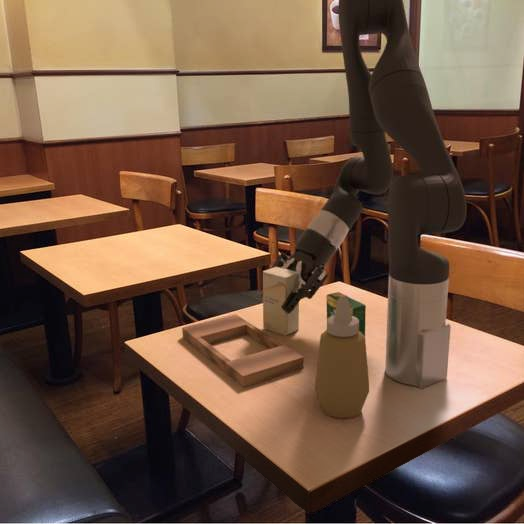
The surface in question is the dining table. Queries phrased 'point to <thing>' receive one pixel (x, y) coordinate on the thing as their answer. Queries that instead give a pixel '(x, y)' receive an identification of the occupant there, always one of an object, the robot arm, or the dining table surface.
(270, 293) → the skincare box
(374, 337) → the dining table surface
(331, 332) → the squeeze bottle
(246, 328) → the wooden frame
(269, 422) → the dining table surface
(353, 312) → the coffee box
